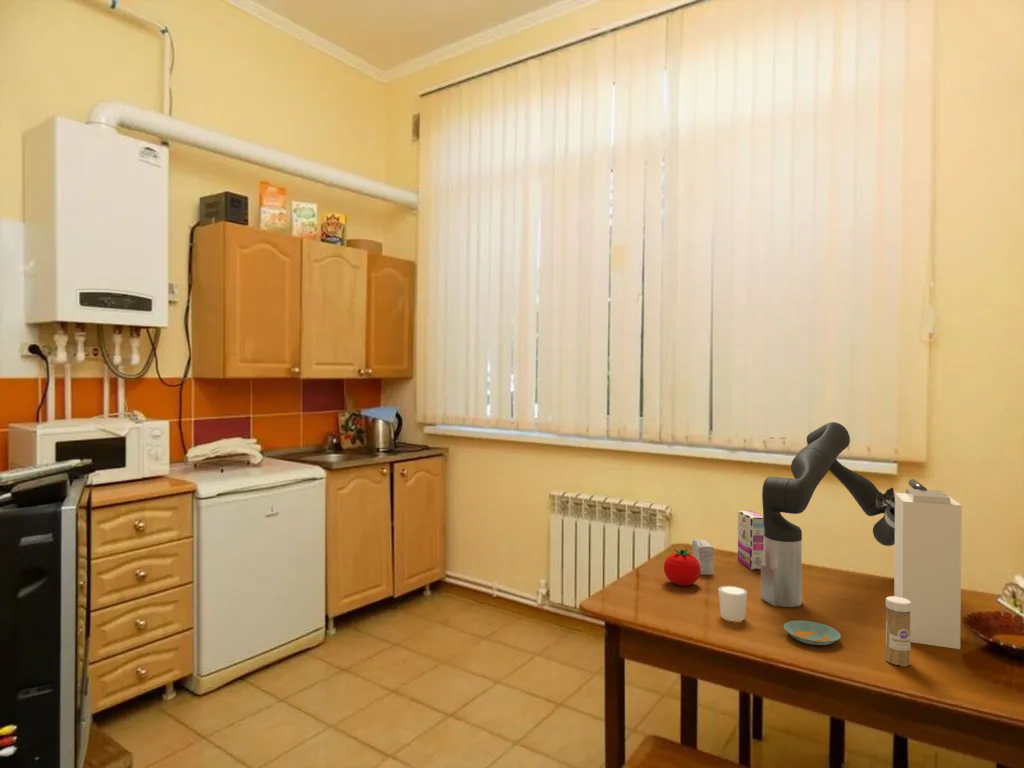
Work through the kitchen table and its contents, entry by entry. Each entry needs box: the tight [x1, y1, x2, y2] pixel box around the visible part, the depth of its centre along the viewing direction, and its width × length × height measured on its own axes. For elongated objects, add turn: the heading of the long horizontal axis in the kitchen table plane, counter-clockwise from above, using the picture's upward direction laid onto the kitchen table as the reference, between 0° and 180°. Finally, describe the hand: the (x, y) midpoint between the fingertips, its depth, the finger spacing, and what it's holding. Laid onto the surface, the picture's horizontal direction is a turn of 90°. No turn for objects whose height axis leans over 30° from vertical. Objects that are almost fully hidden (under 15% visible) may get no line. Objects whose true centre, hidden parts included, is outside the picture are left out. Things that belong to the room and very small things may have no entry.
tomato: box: [663, 548, 701, 587], centre depth 179 cm, size 10×10×10 cm
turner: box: [905, 478, 951, 504], centre depth 149 cm, size 21×7×2 cm, turn 157°
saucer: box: [783, 619, 842, 646], centre depth 143 cm, size 12×12×2 cm
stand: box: [893, 492, 963, 650], centre depth 144 cm, size 11×11×32 cm
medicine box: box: [691, 539, 715, 576], centre depth 192 cm, size 8×4×9 cm, turn 179°
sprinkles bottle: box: [885, 595, 911, 667], centre depth 131 cm, size 5×5×14 cm
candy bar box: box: [737, 510, 764, 571], centre depth 197 cm, size 11×5×16 cm, turn 1°
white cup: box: [717, 585, 748, 622], centre depth 155 cm, size 7×7×7 cm
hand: (911, 492), depth 160 cm, fingers open, 8 cm apart
